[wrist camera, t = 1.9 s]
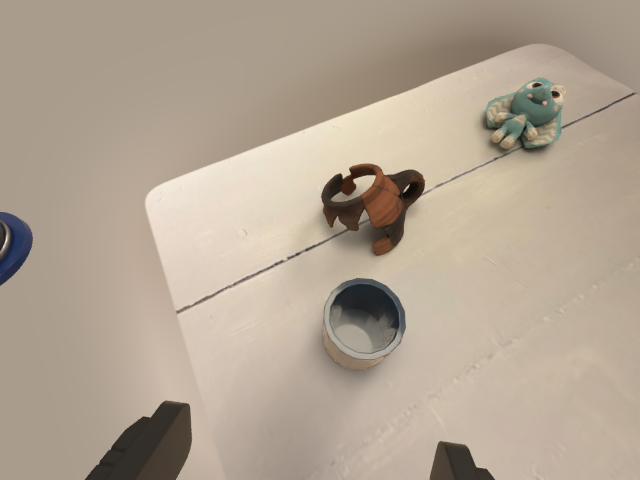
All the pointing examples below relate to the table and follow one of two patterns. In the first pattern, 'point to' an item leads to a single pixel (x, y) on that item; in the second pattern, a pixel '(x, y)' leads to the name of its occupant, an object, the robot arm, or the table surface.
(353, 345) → the cup
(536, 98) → the stuffed animal
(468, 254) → the table surface
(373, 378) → the table surface
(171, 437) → the robot arm
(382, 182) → the brown broken clay pot
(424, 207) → the table surface
